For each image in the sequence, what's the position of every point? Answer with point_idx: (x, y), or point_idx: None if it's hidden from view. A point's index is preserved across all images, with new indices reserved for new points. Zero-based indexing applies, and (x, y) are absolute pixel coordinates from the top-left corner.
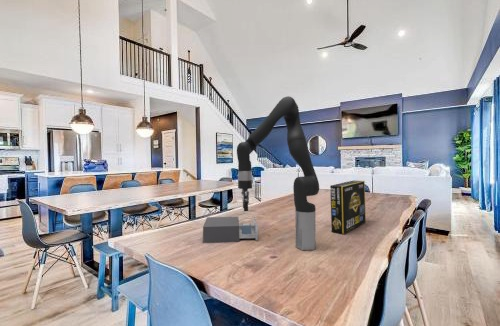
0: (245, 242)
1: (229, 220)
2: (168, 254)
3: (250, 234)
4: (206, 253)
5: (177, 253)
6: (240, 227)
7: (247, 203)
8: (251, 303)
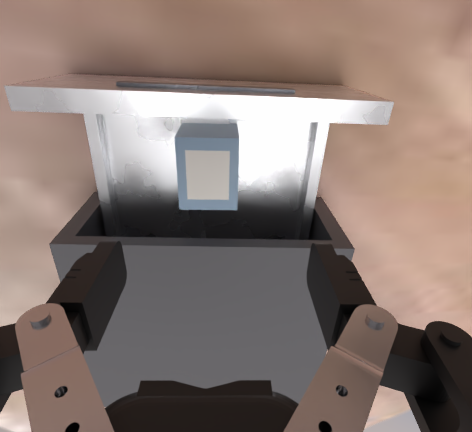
0: (342, 165)
1: (186, 303)
2: (378, 402)
3: (325, 143)
4: (419, 317)
5: (379, 386)
6: (112, 192)
7: (413, 328)
8: None
